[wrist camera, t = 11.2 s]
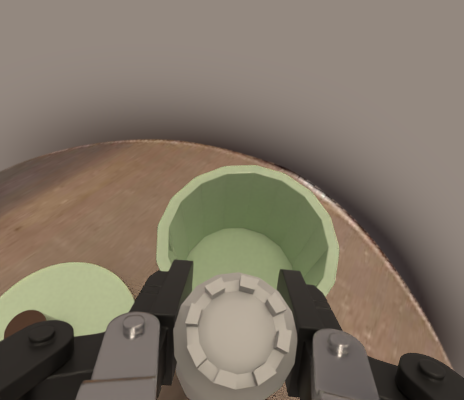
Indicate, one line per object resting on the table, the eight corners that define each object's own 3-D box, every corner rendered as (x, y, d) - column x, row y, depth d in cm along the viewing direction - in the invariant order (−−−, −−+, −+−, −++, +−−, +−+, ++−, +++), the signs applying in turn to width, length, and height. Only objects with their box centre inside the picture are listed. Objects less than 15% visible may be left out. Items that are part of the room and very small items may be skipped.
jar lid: (-66, 401, 24) (-143, 405, 19) (41, 248, 31) (6, 220, 26) (90, 468, 23) (52, 493, 17) (166, 291, 30) (156, 271, 24)
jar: (151, 324, 28) (122, 295, 19) (200, 209, 34) (196, 147, 25) (285, 372, 27) (323, 366, 18) (311, 244, 33) (348, 191, 24)
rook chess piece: (156, 383, 13) (99, 378, 7) (205, 290, 16) (200, 214, 9) (250, 438, 13) (296, 497, 6) (287, 332, 15) (353, 284, 8)
